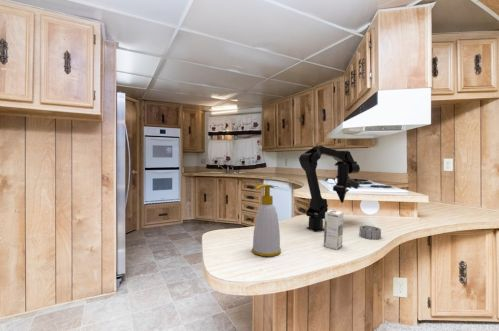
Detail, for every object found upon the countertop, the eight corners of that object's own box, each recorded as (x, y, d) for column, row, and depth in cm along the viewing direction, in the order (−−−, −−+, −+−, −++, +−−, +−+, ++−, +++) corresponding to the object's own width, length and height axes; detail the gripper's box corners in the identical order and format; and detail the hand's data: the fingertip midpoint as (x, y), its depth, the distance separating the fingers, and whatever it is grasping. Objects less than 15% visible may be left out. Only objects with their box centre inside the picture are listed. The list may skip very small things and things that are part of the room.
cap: (371, 239, 110) (371, 230, 109) (361, 235, 114) (361, 227, 114) (378, 237, 112) (378, 229, 112) (368, 234, 116) (369, 226, 116)
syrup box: (328, 242, 104) (329, 209, 104) (342, 246, 101) (343, 211, 100) (323, 246, 100) (324, 211, 99) (337, 250, 96) (338, 214, 95)
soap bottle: (245, 251, 94) (246, 184, 93) (265, 243, 102) (266, 182, 101) (267, 260, 86) (268, 187, 85) (286, 251, 94) (287, 184, 93)
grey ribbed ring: (371, 240, 107) (372, 232, 107) (355, 234, 115) (355, 226, 115) (384, 238, 111) (385, 229, 111) (368, 232, 119) (368, 224, 119)
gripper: (356, 176, 119) (355, 207, 120) (361, 173, 135) (360, 201, 135) (332, 174, 125) (332, 204, 125) (340, 172, 141) (339, 199, 141)
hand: (342, 202), depth 132 cm, fingers closed
